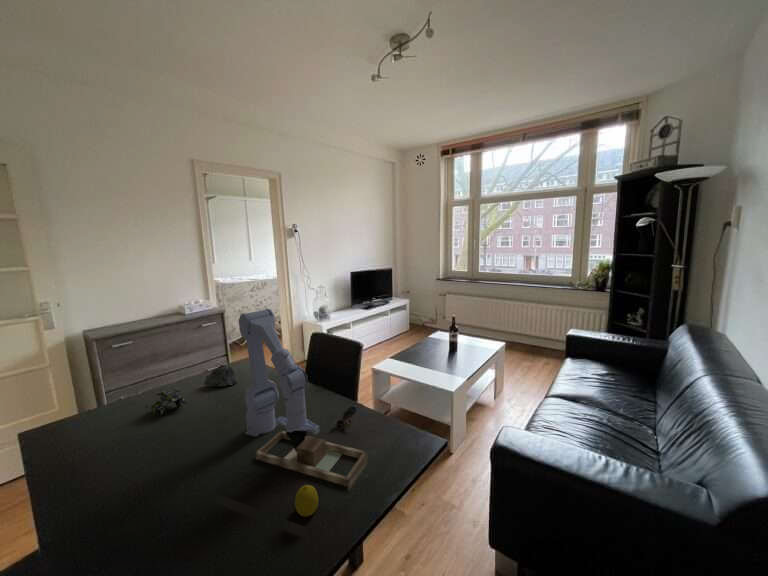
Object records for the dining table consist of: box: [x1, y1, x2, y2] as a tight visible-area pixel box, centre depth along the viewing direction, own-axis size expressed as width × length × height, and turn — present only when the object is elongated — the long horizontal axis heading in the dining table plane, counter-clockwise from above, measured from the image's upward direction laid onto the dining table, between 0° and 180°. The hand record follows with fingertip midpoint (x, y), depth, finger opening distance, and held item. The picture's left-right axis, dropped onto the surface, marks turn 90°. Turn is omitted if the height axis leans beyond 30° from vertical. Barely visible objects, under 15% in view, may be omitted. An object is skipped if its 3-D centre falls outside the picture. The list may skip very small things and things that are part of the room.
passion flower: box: [145, 387, 188, 416], centre depth 129 cm, size 11×11×12 cm
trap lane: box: [254, 430, 369, 492], centre depth 98 cm, size 32×12×4 cm, turn 68°
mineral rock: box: [203, 364, 239, 387], centre depth 152 cm, size 13×11×10 cm
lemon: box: [294, 484, 319, 518], centre depth 79 cm, size 6×6×8 cm
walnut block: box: [296, 435, 326, 467], centre depth 97 cm, size 6×6×5 cm
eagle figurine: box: [332, 406, 357, 431], centre depth 115 cm, size 8×7×9 cm
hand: (299, 450), depth 99 cm, fingers closed
